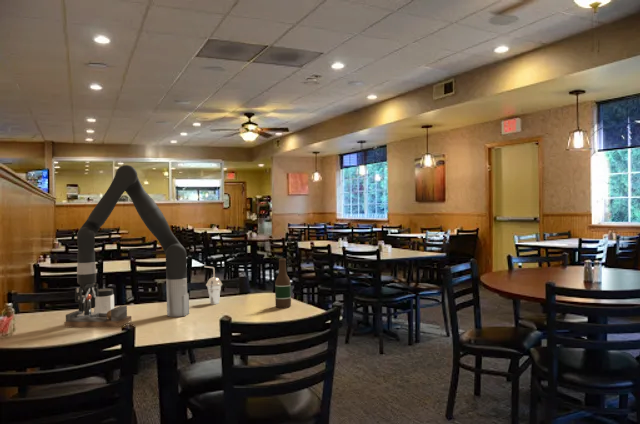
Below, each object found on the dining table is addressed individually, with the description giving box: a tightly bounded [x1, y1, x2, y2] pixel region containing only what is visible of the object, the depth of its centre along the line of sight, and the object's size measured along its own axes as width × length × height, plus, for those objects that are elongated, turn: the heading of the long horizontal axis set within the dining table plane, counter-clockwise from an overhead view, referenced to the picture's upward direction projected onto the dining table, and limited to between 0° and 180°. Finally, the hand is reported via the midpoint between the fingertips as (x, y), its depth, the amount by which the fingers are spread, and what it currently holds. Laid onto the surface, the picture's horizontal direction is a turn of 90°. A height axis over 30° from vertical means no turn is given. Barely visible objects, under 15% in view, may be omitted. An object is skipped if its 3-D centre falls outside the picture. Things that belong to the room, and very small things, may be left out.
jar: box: [93, 288, 115, 313], centre depth 231 cm, size 9×8×12 cm
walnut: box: [107, 310, 111, 319], centre depth 213 cm, size 4×4×4 cm
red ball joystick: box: [77, 294, 99, 317], centre depth 214 cm, size 7×7×11 cm
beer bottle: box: [274, 257, 292, 309], centre depth 242 cm, size 8×8×24 cm
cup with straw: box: [203, 265, 224, 305], centre depth 254 cm, size 8×9×20 cm
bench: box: [63, 305, 132, 328], centre depth 214 cm, size 24×12×7 cm, turn 85°
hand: (87, 309), depth 214 cm, fingers open, 8 cm apart
